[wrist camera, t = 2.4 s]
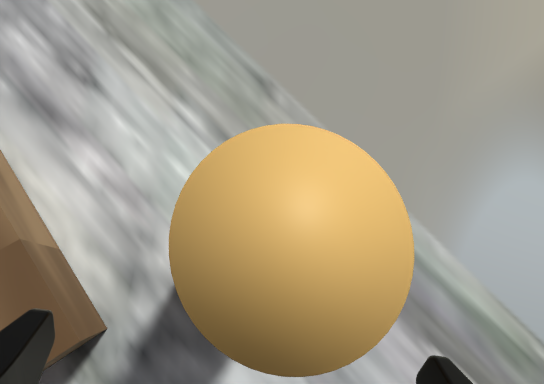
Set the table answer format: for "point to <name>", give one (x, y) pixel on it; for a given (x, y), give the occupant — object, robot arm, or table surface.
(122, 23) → the table surface
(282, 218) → the ochre pin
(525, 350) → the table surface
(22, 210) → the walnut hole block
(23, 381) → the robot arm
